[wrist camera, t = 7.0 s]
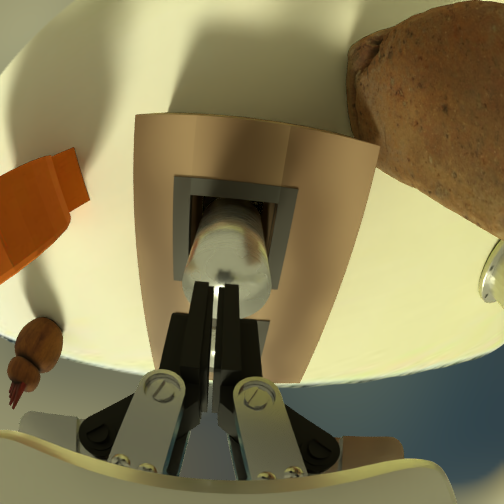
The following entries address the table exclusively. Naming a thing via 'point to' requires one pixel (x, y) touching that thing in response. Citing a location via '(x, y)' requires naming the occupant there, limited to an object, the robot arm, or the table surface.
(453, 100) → the block
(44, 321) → the wooden figurine
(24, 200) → the alarm clock
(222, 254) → the peg
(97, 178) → the table surface
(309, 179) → the socket block
